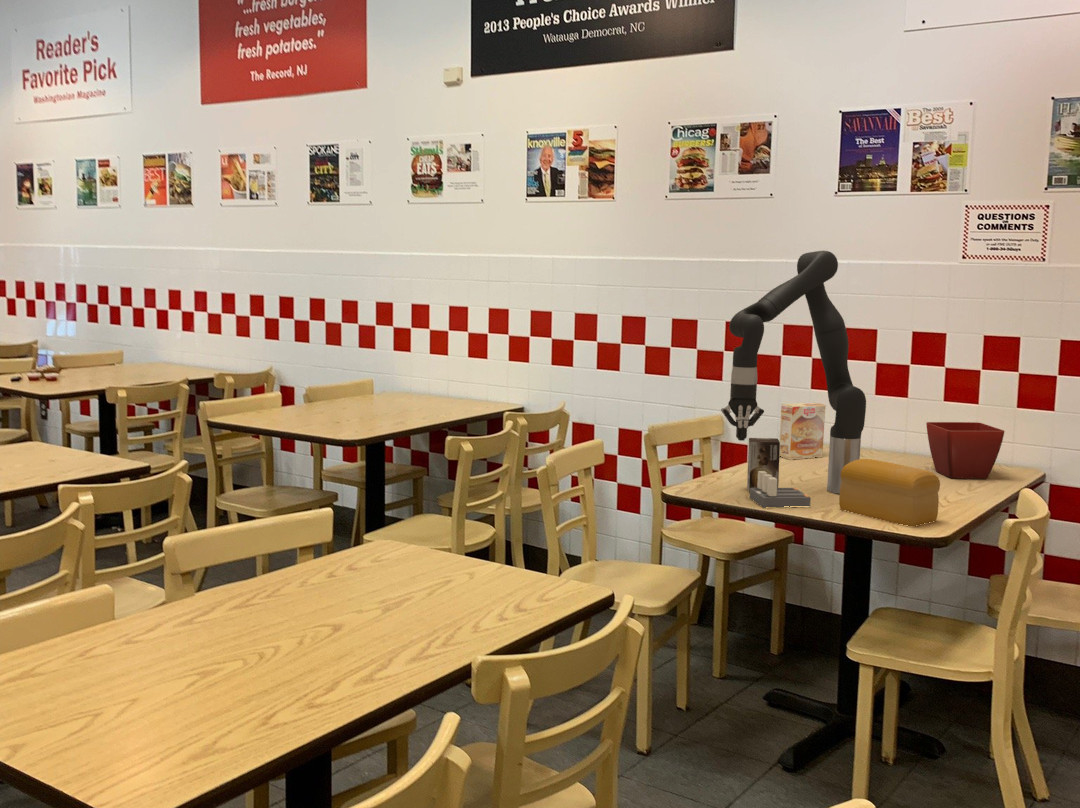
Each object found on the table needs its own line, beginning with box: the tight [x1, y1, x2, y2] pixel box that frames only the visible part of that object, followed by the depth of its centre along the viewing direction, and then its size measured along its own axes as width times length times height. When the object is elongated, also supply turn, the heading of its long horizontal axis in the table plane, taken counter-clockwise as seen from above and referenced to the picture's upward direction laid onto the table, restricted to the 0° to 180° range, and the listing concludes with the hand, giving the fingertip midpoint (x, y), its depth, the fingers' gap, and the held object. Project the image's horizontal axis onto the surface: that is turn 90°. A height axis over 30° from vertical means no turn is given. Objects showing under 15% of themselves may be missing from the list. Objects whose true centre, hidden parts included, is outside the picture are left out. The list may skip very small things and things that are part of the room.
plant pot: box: [926, 421, 1006, 480], centre depth 356 cm, size 19×19×17 cm
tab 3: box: [767, 477, 777, 496], centre depth 306 cm, size 2×3×5 cm
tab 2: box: [762, 474, 772, 493], centre depth 311 cm, size 2×3×5 cm
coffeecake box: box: [778, 402, 827, 461], centre depth 383 cm, size 15×7×20 cm, turn 115°
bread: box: [838, 458, 941, 527], centre depth 298 cm, size 24×13×15 cm, turn 36°
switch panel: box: [749, 487, 812, 509], centre depth 312 cm, size 14×13×3 cm
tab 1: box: [757, 471, 767, 489], centre depth 315 cm, size 2×3×5 cm
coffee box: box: [746, 437, 780, 492], centre depth 327 cm, size 9×6×16 cm
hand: (741, 440), depth 313 cm, fingers closed
